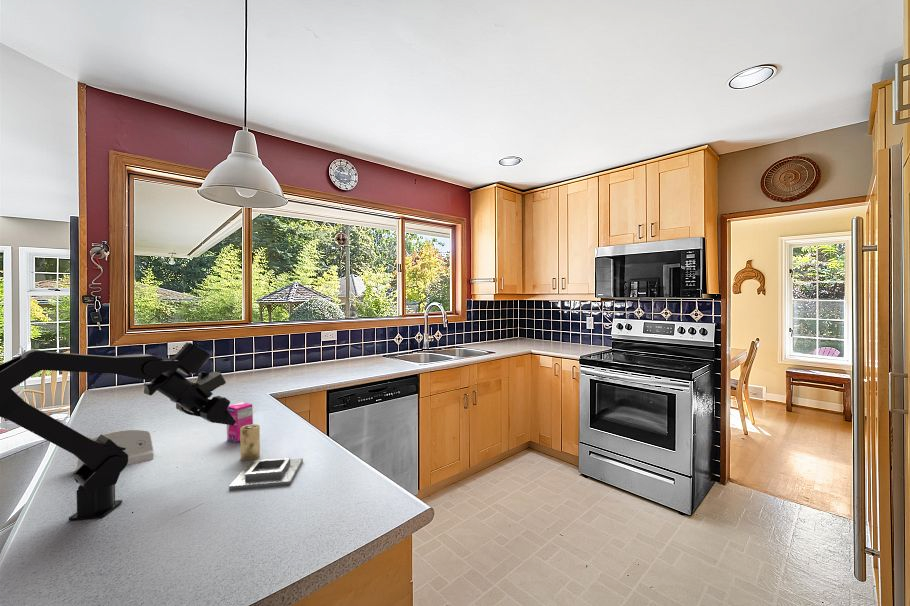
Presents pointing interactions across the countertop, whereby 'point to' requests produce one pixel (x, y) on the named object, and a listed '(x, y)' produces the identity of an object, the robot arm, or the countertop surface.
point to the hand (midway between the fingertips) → (226, 420)
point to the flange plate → (267, 473)
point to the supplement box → (239, 420)
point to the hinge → (131, 445)
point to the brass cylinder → (250, 442)
